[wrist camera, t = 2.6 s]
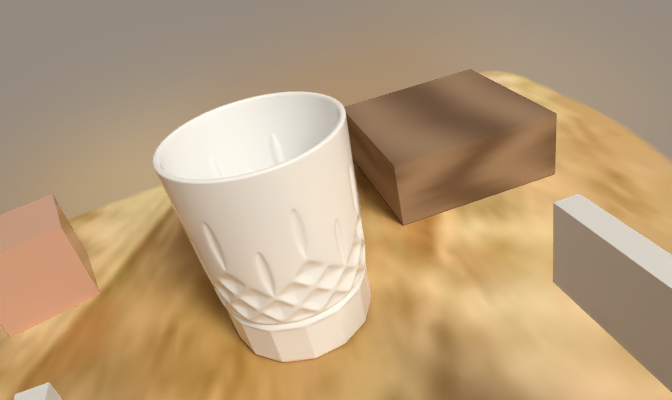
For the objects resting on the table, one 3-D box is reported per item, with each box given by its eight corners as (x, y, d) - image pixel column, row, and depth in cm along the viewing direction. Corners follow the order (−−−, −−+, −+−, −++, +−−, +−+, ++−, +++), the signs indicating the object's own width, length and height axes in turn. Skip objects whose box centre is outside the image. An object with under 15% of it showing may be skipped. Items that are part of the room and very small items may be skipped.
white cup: (226, 283, 29) (160, 120, 24) (361, 244, 30) (325, 77, 25) (230, 397, 23) (140, 205, 17) (404, 343, 23) (367, 142, 18)
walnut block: (403, 225, 31) (394, 165, 29) (351, 157, 39) (341, 107, 37) (554, 173, 32) (556, 113, 30) (473, 119, 40) (470, 69, 38)
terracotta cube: (11, 338, 29) (-41, 269, 26) (8, 292, 33) (-37, 229, 30) (100, 295, 31) (61, 226, 28) (88, 256, 35) (52, 193, 32)
